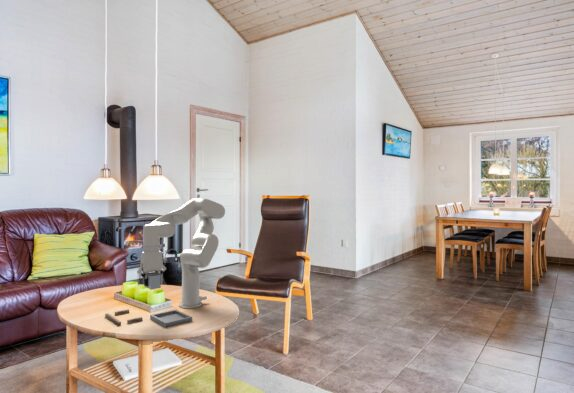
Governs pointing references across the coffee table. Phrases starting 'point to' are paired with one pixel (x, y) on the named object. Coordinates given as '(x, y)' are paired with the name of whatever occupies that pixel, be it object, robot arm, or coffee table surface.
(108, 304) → the coffee table surface
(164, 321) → the tray
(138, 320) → the set of brown sticks
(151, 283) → the grey rectangular block
